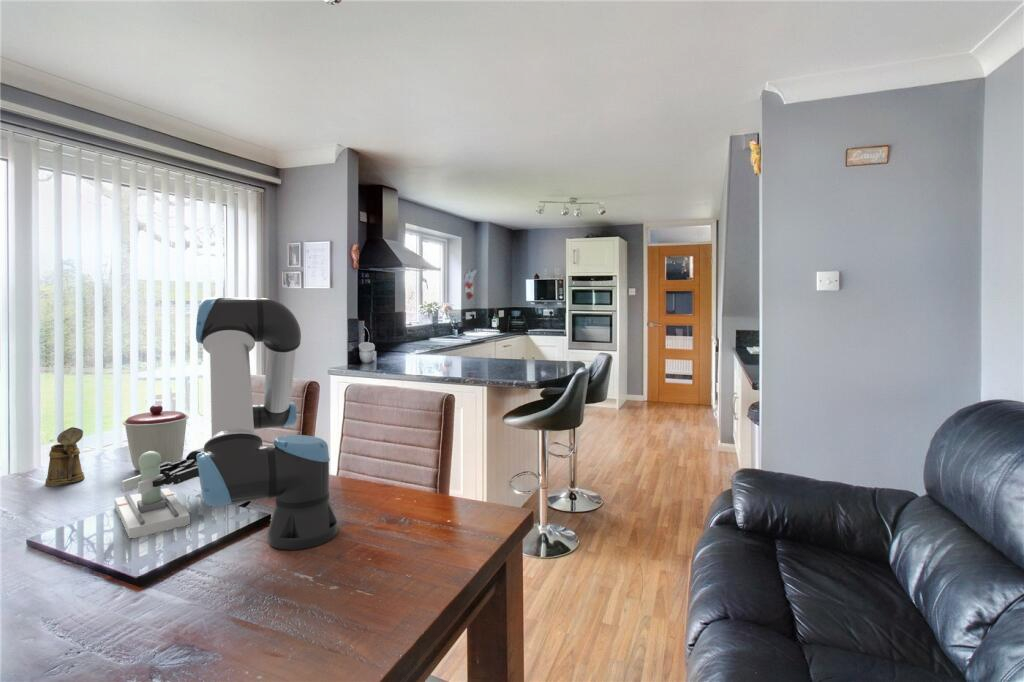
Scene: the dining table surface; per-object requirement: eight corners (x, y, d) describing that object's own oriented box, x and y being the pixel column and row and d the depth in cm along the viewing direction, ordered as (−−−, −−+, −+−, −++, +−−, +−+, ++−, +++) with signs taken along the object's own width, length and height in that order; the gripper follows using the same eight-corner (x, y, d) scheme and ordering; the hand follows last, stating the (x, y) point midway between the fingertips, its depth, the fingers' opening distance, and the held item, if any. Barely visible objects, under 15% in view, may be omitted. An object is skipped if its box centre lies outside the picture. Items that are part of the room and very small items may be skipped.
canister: (137, 462, 178) (134, 401, 177) (196, 458, 184) (194, 399, 183) (114, 478, 161) (111, 411, 160) (180, 473, 167) (178, 408, 165)
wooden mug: (55, 491, 149) (52, 430, 148) (41, 482, 157) (38, 423, 156) (93, 483, 156) (90, 424, 155) (78, 475, 164) (76, 418, 163)
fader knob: (165, 507, 131) (163, 451, 130) (140, 512, 127) (138, 455, 127) (161, 501, 135) (160, 447, 134) (137, 506, 131) (135, 451, 130)
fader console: (189, 524, 127) (189, 511, 127) (129, 539, 119) (128, 525, 118) (168, 496, 146) (167, 485, 146) (114, 507, 138) (114, 495, 137)
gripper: (232, 475, 147) (161, 505, 124) (181, 471, 150) (103, 499, 127) (232, 449, 146) (159, 474, 123) (181, 445, 150) (101, 469, 127)
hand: (131, 487), depth 125 cm, fingers closed on fader knob, 4 cm apart
